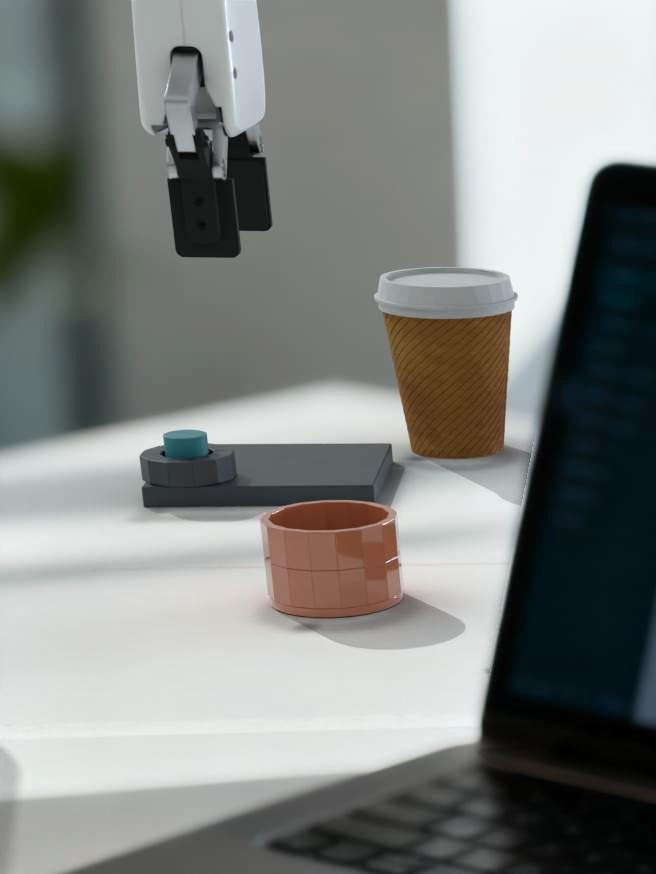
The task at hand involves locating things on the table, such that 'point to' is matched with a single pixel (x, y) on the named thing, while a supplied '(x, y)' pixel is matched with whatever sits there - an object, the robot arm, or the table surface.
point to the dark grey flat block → (265, 474)
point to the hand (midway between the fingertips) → (226, 242)
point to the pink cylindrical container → (332, 558)
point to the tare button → (186, 444)
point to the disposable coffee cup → (450, 356)
